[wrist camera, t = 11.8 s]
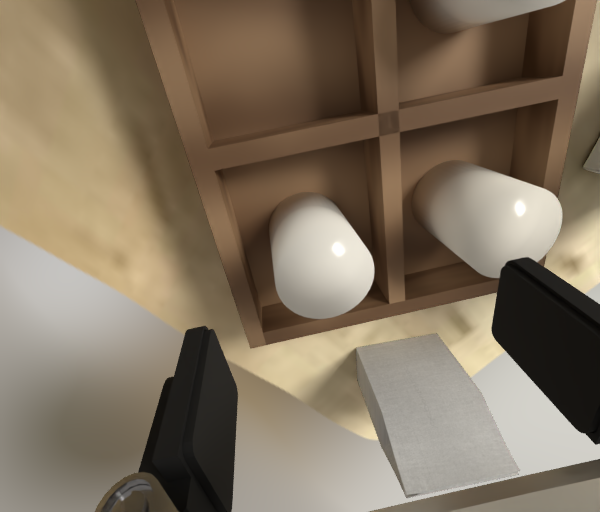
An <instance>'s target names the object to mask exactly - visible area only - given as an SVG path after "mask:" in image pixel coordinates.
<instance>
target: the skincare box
mask: <svg viewBox="0 0 600 512" xmlns="http://www.w3.org/2000/svg"><path fill="white" fill-rule="evenodd" d="M583 168H584V169H585V170H588V171H591V172H595V173H598V174H600V137H599V139H598V141H597V143H596V145H595V147H594V148H593V150H592V152H591V154H590V155H589V157H588V159H587V161H586V162H585V164H584V166H583Z"/></svg>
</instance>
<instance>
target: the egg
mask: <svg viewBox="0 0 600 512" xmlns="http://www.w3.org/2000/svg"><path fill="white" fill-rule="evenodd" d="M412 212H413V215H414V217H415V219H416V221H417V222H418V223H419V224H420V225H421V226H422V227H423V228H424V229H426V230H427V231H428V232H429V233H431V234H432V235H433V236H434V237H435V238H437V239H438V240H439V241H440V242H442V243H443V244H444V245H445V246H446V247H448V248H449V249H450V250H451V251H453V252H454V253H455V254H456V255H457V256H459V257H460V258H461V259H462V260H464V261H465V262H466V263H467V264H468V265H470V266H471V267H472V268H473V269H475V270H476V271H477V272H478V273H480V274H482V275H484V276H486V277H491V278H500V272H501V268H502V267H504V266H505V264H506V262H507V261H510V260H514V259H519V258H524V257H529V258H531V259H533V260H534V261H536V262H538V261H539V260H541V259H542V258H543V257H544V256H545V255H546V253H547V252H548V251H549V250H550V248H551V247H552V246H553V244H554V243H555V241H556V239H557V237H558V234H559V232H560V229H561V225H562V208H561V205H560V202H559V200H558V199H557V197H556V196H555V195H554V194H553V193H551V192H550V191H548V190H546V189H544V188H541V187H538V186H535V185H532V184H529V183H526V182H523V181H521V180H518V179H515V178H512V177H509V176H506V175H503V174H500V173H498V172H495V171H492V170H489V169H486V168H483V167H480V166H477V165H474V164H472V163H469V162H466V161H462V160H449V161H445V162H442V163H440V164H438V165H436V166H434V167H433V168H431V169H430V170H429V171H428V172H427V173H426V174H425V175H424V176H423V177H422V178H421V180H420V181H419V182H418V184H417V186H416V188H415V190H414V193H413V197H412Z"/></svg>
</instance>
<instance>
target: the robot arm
mask: <svg viewBox="0 0 600 512" xmlns="http://www.w3.org/2000/svg"><path fill="white" fill-rule="evenodd" d="M492 334H493V336H494V338H495V340H496V341H497V342H498V343H499V344H500V345H501V346H502V348H503V349H504V350H505V351H506V352H507V353H508V354H509V355H510V356H511V357H512V359H513V360H514V361H515V362H516V363H517V364H518V365H519V366H520V368H521V369H522V370H523V371H524V372H525V373H526V374H527V375H528V376H529V377H530V379H531V380H532V381H533V382H534V383H535V384H536V385H537V386H538V387H539V389H541V391H542V392H543V393H544V394H545V395H546V396H547V397H548V398H549V400H550V401H551V402H552V403H553V404H554V405H555V406H556V407H557V408H558V410H559V411H560V412H561V413H562V414H563V415H564V416H565V417H566V418H567V420H568V421H569V422H570V423H571V424H572V425H573V426H574V427H575V428H576V429H577V430H578V431H579V432H581V433H585V434H586V435H587V436H588V437H589V438H590V439H591V440H592V441H593V442H594V443H595V444H600V304H598V303H597V302H595V301H594V300H592V299H591V298H589V297H588V296H586V295H585V294H583V293H582V292H580V291H579V290H578V289H576V288H575V287H573V286H572V285H570V284H569V283H567V282H566V281H564V280H563V279H561V278H560V277H558V276H557V275H555V274H554V273H552V272H551V271H549V270H548V269H546V268H545V267H543V266H542V265H540V264H539V263H537V262H536V261H534V260H533V259H531V258H529V257H524V258H519V259H514V260H510V261H507V262H506V264H505V266H504V267H502V268H501V272H500V278H499V285H498V291H497V297H496V304H495V310H494V317H493V323H492ZM237 401H238V392H237V386H236V383H235V381H234V379H233V376H232V374H231V371H230V369H229V366H228V364H227V361H226V359H225V356H224V354H223V351H222V349H221V346H220V344H219V341H218V339H217V336H216V334H215V332H214V330H213V329H210V330H208V328H207V327H206V326H202V327H197V328H193V329H188V330H187V331H186V333H185V337H184V341H183V345H182V348H181V352H180V356H179V360H178V364H177V367H176V371H175V375H174V377H169V378H167V380H166V381H165V383H164V386H163V389H162V392H161V396H160V399H159V403H158V406H157V410H156V413H155V417H154V420H153V424H152V427H151V430H150V434H149V437H148V441H147V445H146V448H145V451H144V454H143V458H142V461H141V465H140V468H139V472H138V473H134V474H131V475H129V476H127V477H124V478H123V479H122V480H120V481H119V482H117V483H116V484H115V485H114V486H113V487H112V488H111V489H110V490H109V491H108V492H107V493H106V494H105V495H104V497H103V498H102V500H101V501H100V503H99V504H98V506H97V508H96V511H95V512H231V510H232V499H233V479H234V478H233V477H234V460H235V459H234V458H235V440H236V421H237ZM370 512H600V459H598V460H593V461H589V462H585V463H580V464H576V465H571V466H567V467H562V468H558V469H553V470H549V471H544V472H540V473H535V474H531V475H526V476H522V477H517V478H513V479H509V480H504V481H500V482H495V483H491V484H487V485H482V486H478V487H474V488H469V489H465V490H460V491H456V492H452V493H447V494H443V495H439V496H434V497H430V498H426V499H421V500H417V501H412V502H408V503H404V504H400V505H395V506H391V507H387V508H383V509H378V510H374V511H370Z"/></svg>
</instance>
